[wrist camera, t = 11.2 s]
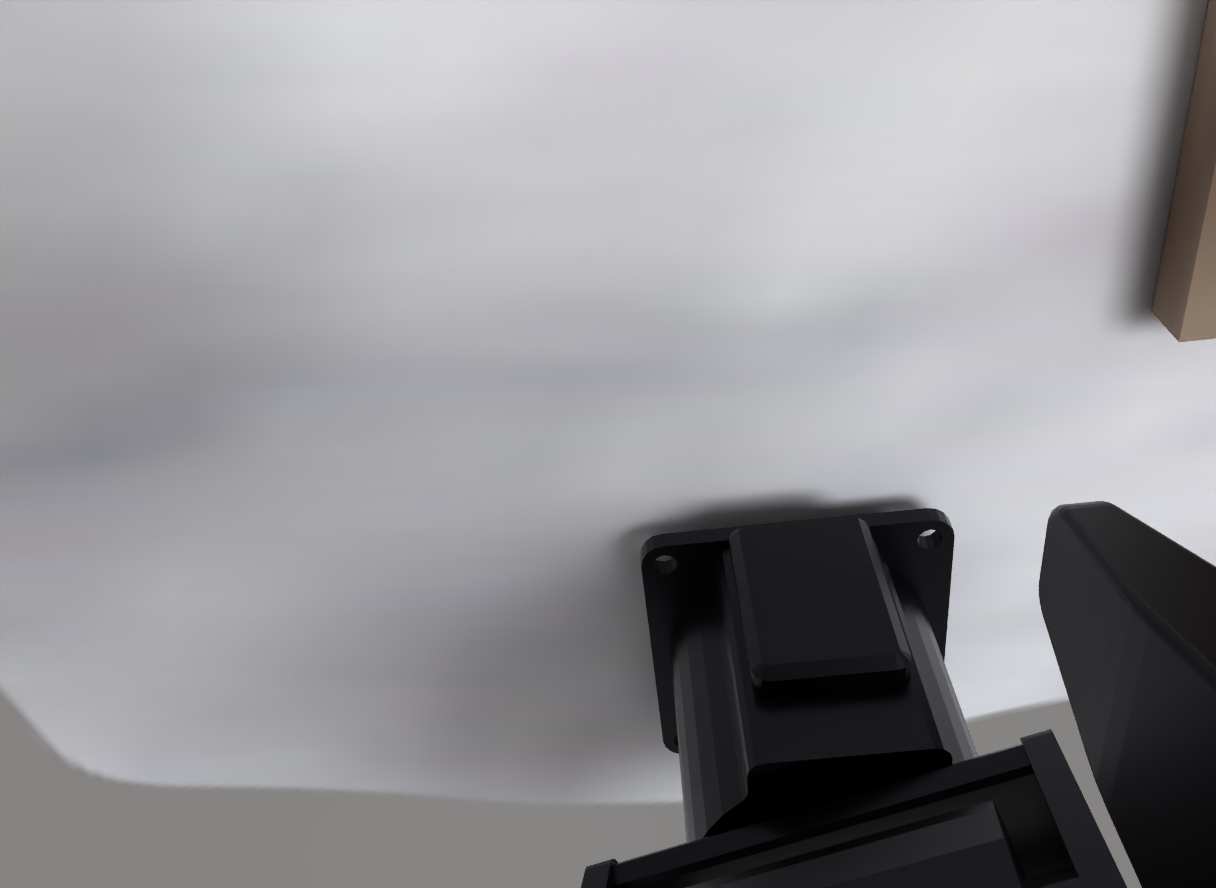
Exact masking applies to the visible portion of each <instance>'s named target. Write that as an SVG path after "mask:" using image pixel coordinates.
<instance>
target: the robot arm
mask: <svg viewBox="0 0 1216 888" xmlns="http://www.w3.org/2000/svg"><path fill="white" fill-rule="evenodd" d="M930 529H931V530H936V531H935V532H934V533H932V534H931V535H928V536H925V537H924V536H919V535H920V534H922V533H923V532H924V531H927V530H930ZM953 548H954V532H953V528H952V526H951V524H950V521H949V519H948V517H947V516H946V515H945V514H944V513H943V512H942V511H939V510H937V509H930V508H924V509H914V510H904V511H894V512H883V513H873V514H863V515H853V516H843V517H832V518H822V519H812V520H802V521H791V522H781V523H771V524H761V525H750V526H740V527H730V528H720V529H710V530H699V531H689V532H679V533H669V534H661V535H657V536H653V537H651V538H650V539H648V540H647V541H646V542H645V543H644V545H643V546H642V548H641V568H642V576H643V584H644V592H645V600H646V608H647V615H648V623H649V631H650V639H651V647H652V655H653V663H654V671H655V679H656V686H657V694H658V702H659V710H660V718H661V726H662V734H663V742H664V744H665V746H666V747H667V748H668V749H669V750H670V751H672V752H675V753H679V758H680V769H681V781H682V793H683V804H684V815H685V827H686V839H687V843H684V844H680V845H677V846H674V847H670V848H667V849H663V850H660V851H657V852H653V853H650V854H647V855H643V856H640V857H637V858H633V859H630V860H626V861H623V862H619V863H618V862H617V861H616V860H615V859H611V860H608V861H604V862H601V863H598V864H594V865H591V866H588V867H586V869H585V873H584V878H583V882H582V886H581V888H1127V886H1126V884H1125V882H1124V880H1123V878H1122V876H1121V874H1120V872H1119V870H1118V868H1117V866H1116V863H1115V861H1114V859H1113V857H1112V855H1111V853H1110V851H1109V849H1108V847H1107V845H1106V842H1105V840H1104V838H1103V836H1102V834H1101V832H1100V830H1099V828H1098V826H1097V824H1096V822H1095V820H1094V817H1093V815H1092V813H1091V811H1090V809H1089V807H1088V805H1087V803H1086V801H1085V799H1084V797H1083V795H1082V792H1081V790H1080V788H1079V786H1078V784H1077V782H1076V780H1075V778H1074V776H1073V774H1072V772H1071V769H1070V768H1069V765H1068V763H1067V761H1066V759H1065V757H1064V755H1063V753H1062V751H1061V749H1060V746H1059V744H1058V742H1057V740H1056V738H1055V736H1054V734H1053V732H1052V730H1051V729H1049V730H1046V731H1043V732H1039V733H1036V734H1033V735H1029V736H1026V737H1022V738H1020V739H1021V742H1022V744H1019V745H1015V746H1012V747H1009V748H1005V749H1002V750H999V751H995V752H992V753H988V754H985V755H982V756H978V755H977V752H976V749H975V746H974V744H973V741H972V738H971V735H970V733H969V730H968V727H967V724H966V722H965V719H964V716H963V713H962V710H961V708H960V705H959V702H958V699H957V697H956V694H955V691H954V688H953V686H952V683H951V680H950V677H949V675H948V672H947V669H946V666H945V664H944V657H945V645H946V633H947V621H948V609H949V596H950V584H951V572H952V560H953ZM663 555H667V556H671V557H673V558H672V559H671V560H669V561H665V562H664V561H658V560H657V558H658V557H660V556H663ZM1039 598H1040V605H1041V610H1042V614H1043V617H1044V621H1045V624H1046V627H1047V630H1048V633H1049V636H1050V640H1051V643H1052V646H1053V649H1054V652H1055V656H1056V659H1057V662H1058V665H1059V668H1060V672H1061V675H1062V678H1063V681H1064V684H1065V688H1066V691H1067V694H1068V697H1069V700H1070V704H1071V707H1072V710H1073V713H1074V716H1075V720H1076V723H1077V726H1078V729H1079V732H1080V735H1081V738H1082V742H1083V745H1084V748H1085V752H1086V755H1087V758H1088V760H1089V763H1090V766H1091V769H1092V772H1093V775H1094V778H1095V781H1096V784H1097V786H1098V788H1099V791H1100V793H1101V796H1102V798H1103V801H1104V803H1105V805H1106V808H1107V810H1108V812H1109V814H1110V817H1111V819H1112V821H1113V824H1114V826H1115V828H1116V830H1117V833H1118V835H1119V837H1120V839H1121V842H1122V844H1123V846H1124V848H1125V850H1126V853H1127V855H1128V857H1129V859H1130V862H1131V864H1132V866H1133V868H1134V870H1135V873H1136V875H1137V877H1138V879H1139V882H1140V884H1141V886H1142V888H1216V567H1215V566H1214V565H1212V564H1211V563H1209V562H1207V561H1206V560H1204V559H1202V558H1201V557H1199V556H1197V555H1196V554H1194V553H1192V552H1191V551H1189V550H1188V549H1186V548H1184V547H1183V546H1181V545H1179V544H1178V543H1176V542H1174V541H1173V540H1171V539H1170V538H1168V537H1166V536H1165V535H1163V534H1161V533H1160V532H1158V531H1156V530H1155V529H1153V528H1151V527H1150V526H1148V525H1147V524H1145V523H1143V522H1142V521H1140V520H1138V519H1137V518H1135V517H1133V516H1132V515H1130V514H1129V513H1127V512H1125V511H1124V510H1122V509H1120V508H1119V507H1117V506H1115V505H1113V504H1111V503H1109V502H1104V501H1095V502H1085V503H1075V504H1065V505H1060V506H1058V507H1056V508H1055V509H1054V510H1052V512H1051V514H1050V517H1049V519H1048V524H1047V531H1046V538H1045V545H1044V552H1043V559H1042V566H1041V573H1040V580H1039Z"/></svg>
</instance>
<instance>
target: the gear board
mask: <svg viewBox="0 0 1216 888" xmlns="http://www.w3.org/2000/svg"><path fill="white" fill-rule="evenodd" d="M1152 312H1153V313H1154V315H1155V316H1156V317H1157V318H1158V319H1159V320H1160V321H1161V322H1162V324H1163V325H1164V326H1165V327H1166V328H1167V329H1168V330H1169V331H1170V333H1171V334H1172V335H1173V336H1174V337H1175V338H1176V339H1177V340H1178V342H1185V341H1195V340H1204V339H1214V338H1216V0H1209V3H1208V9H1207V14H1206V20H1205V25H1204V30H1203V36H1202V41H1201V47H1200V52H1199V57H1198V63H1197V68H1196V74H1195V79H1194V84H1193V90H1192V95H1191V101H1190V106H1189V111H1188V117H1187V122H1186V128H1185V133H1184V138H1183V144H1182V149H1181V155H1180V160H1179V165H1178V171H1177V176H1176V182H1175V187H1174V192H1173V198H1172V203H1171V209H1170V214H1169V220H1168V225H1167V230H1166V236H1165V241H1164V247H1163V252H1162V257H1161V263H1160V268H1159V274H1158V279H1157V284H1156V290H1155V295H1154V301H1153V306H1152Z"/></svg>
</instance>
